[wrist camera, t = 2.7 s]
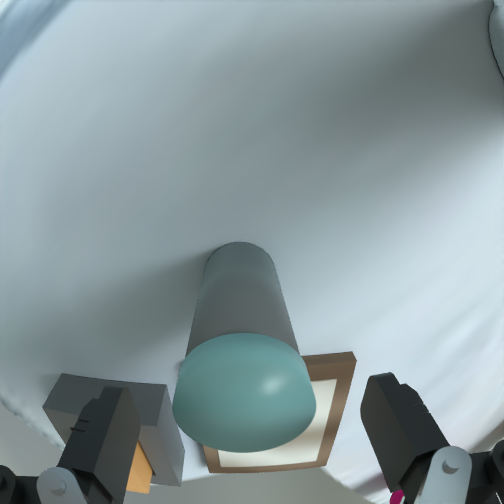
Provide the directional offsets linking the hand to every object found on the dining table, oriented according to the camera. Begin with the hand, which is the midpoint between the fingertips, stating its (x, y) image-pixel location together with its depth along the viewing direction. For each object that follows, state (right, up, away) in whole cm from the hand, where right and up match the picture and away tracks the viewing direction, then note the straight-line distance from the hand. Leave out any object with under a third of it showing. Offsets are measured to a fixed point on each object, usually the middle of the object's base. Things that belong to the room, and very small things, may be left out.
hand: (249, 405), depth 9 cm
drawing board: (+1, -9, +13) cm, 15 cm away
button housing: (-11, -9, +12) cm, 18 cm away
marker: (-1, +4, +8) cm, 9 cm away
